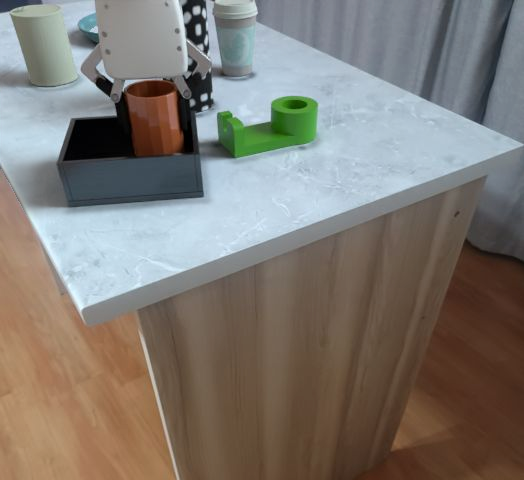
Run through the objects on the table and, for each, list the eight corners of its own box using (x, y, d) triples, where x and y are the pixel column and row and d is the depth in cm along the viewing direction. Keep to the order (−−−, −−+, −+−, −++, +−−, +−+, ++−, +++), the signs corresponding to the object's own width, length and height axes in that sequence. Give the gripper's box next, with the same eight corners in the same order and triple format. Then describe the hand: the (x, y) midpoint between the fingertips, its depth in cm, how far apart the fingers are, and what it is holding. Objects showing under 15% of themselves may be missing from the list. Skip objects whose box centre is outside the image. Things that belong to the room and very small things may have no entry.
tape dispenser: (302, 122, 85) (303, 92, 81) (324, 139, 80) (326, 108, 77) (217, 140, 80) (215, 109, 77) (236, 158, 76) (234, 126, 72)
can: (33, 72, 104) (12, 2, 96) (80, 69, 105) (63, -1, 97) (27, 88, 98) (3, 14, 89) (77, 84, 99) (58, 11, 90)
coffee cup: (208, 75, 102) (202, 3, 93) (229, 62, 107) (226, -7, 99) (245, 81, 99) (243, 8, 91) (266, 68, 104) (265, -2, 96)
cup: (135, 170, 69) (122, 99, 63) (137, 148, 74) (125, 80, 68) (186, 166, 70) (178, 96, 63) (184, 145, 75) (177, 78, 68)
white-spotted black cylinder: (156, 104, 91) (136, -35, 77) (193, 92, 95) (179, -43, 81) (186, 117, 87) (170, -28, 73) (223, 103, 91) (214, -37, 77)
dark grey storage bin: (69, 207, 66) (55, 163, 62) (81, 157, 77) (71, 117, 72) (204, 196, 68) (199, 153, 64) (199, 149, 78) (195, 110, 74)
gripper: (209, -45, 60) (219, 113, 72) (55, -40, 58) (93, 121, 71) (213, -33, 54) (223, 136, 67) (44, -28, 53) (87, 144, 66)
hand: (156, 127), depth 69 cm, fingers closed on cup, 6 cm apart
